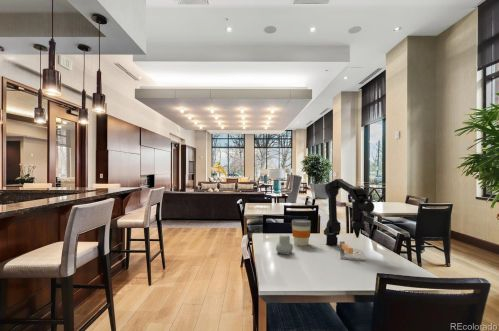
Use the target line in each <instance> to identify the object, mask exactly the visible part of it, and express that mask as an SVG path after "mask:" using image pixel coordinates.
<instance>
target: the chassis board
mask: <svg viewBox="0 0 499 331" xmlns="http://www.w3.org/2000/svg"><path fill="white" fill-rule="evenodd" d="M362 250H363V249H362V248H353V254H349V253H348V252H346V251H345V250H343V249H341V248H340V247H339V254H340V259H341V260H348V261H349V260H350V261H358V262H365V261H366V260H365V256H364V253H363V251H362Z"/></svg>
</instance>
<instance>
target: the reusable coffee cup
mask: <svg viewBox="0 0 499 331" xmlns="http://www.w3.org/2000/svg"><path fill="white" fill-rule="evenodd" d="M311 226H312V221H311V220H308V219H302V218H301V219H299V218H297V219H296V218H295V219H292V220H291V227H292V228H291V231H292V237H293V243H294V245H295V246H303V247H304V246H308V245H309V241H310V240H309V239H310V237H311Z"/></svg>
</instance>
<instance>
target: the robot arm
mask: <svg viewBox="0 0 499 331" xmlns="http://www.w3.org/2000/svg"><path fill="white" fill-rule="evenodd" d="M340 189H343V191H346V192H347V193H348V195H349V197H351V198H350V199H349V201H350V202H351V218H350V223H351V228H352V230H353V232H354V235H355V237H356V238H357V239H358V238H359V237H360V234H361V233H360V232H361V229H365V228H366V224H365V223H368V224H370V225H373V223H374V220H375V218H373V217H372V215H371V214H369V213H373V211H374V210H375V204H374V203H373V201H372V199H369V197H368V195H367V193H366V191H365V189H364V188H363V187H360V186H354V185H352V184H350V183H349V182H347V181H346V180H344V179H342V178H335V179H334V180H332V181H330V182H328V183H326V184H325V185H324V190H325V194H326V196H327V197H328V199H327V200H328V219H327V220H328V221H327V222H326V227H325V228H324V230H323V235H324V236H326V245H325V246H333V247H337V246H338V243H339V242H338V239H339V237H338V236H339V235H340V233H341V222H340V221H338V211H337V210H338V209H337V208H338V207H337V197H338V195H339V191H340ZM364 212H366V213H368V214H364ZM364 222H365V223H364Z"/></svg>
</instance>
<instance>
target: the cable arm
mask: <svg viewBox="0 0 499 331" xmlns="http://www.w3.org/2000/svg"><path fill="white" fill-rule="evenodd" d="M340 248H341V249H343V250H345V251H346V252H348V253H349V254H353V249H354V247H352V246H350V245H348V244H347V243H346V241H343V240H341V241H340V240H339V249H340Z"/></svg>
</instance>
